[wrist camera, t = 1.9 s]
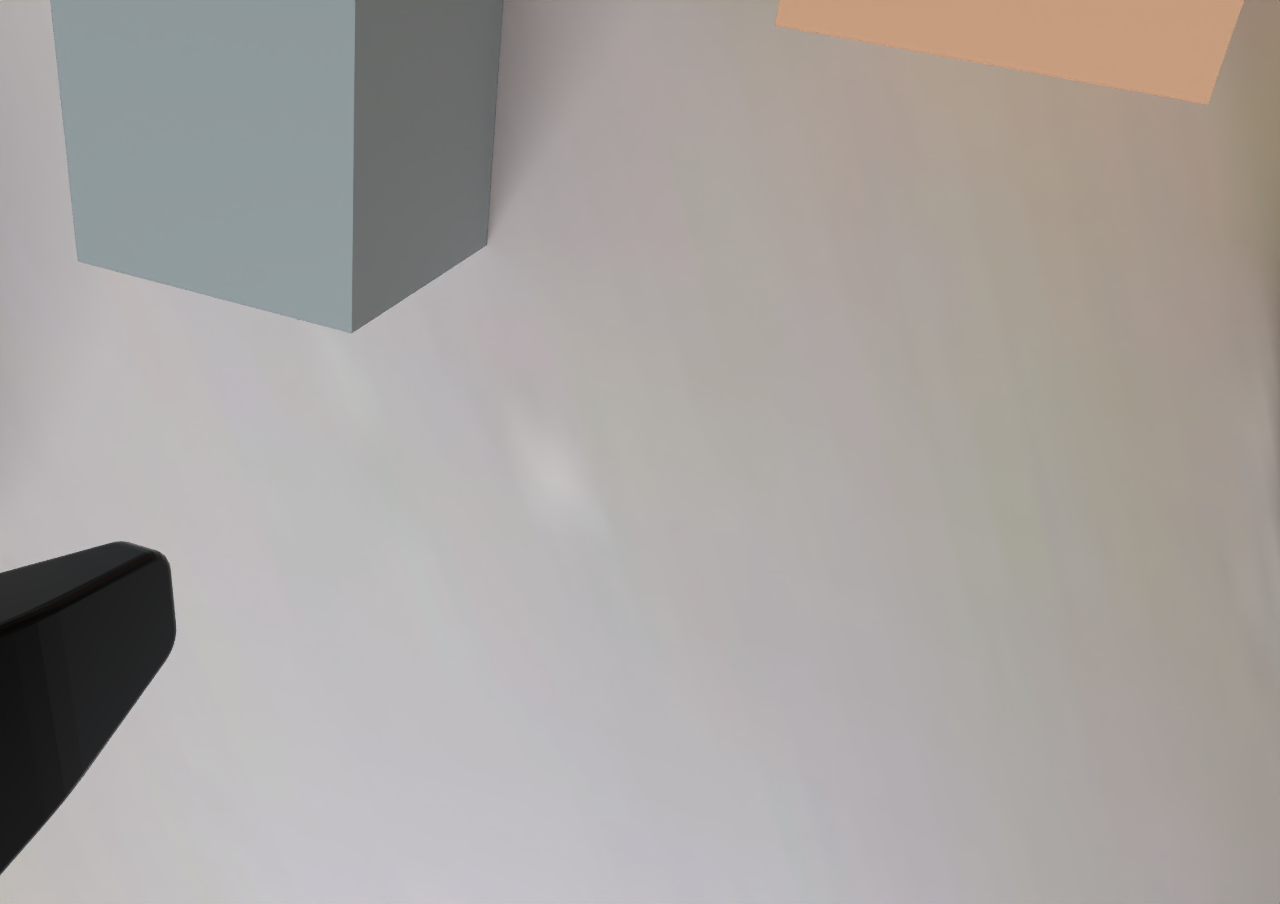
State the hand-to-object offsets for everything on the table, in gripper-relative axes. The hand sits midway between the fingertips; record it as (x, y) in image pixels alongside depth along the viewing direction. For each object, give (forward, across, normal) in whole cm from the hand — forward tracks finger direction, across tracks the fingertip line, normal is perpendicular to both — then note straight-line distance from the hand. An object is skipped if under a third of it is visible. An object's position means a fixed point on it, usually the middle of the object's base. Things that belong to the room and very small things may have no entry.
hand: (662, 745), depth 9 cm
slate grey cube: (+13, +10, -1) cm, 16 cm away
